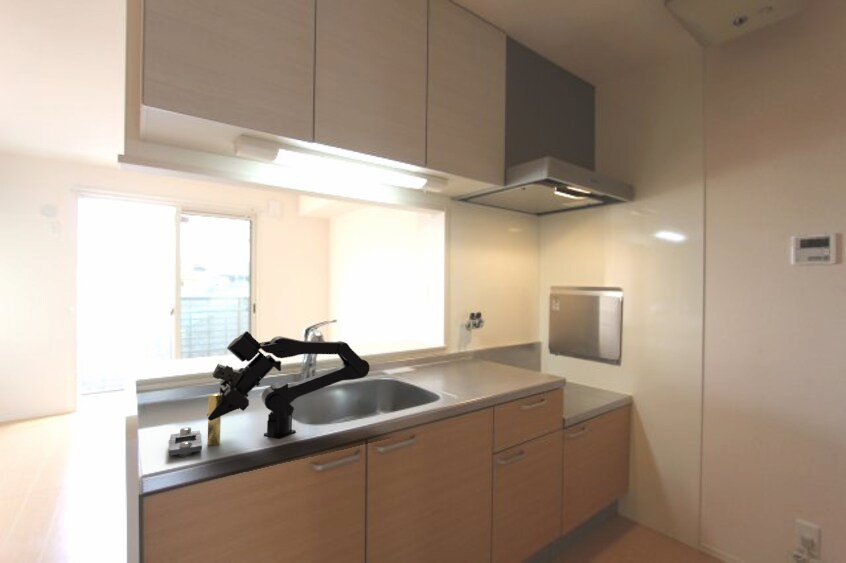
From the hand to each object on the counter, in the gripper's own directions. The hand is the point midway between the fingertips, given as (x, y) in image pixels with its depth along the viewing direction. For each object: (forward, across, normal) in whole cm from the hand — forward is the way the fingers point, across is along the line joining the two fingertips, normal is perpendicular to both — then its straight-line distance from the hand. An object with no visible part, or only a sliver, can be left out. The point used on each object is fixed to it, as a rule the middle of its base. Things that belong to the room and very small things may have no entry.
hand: (208, 417), depth 107 cm
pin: (+4, 0, +6) cm, 7 cm away
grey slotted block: (+9, -1, +1) cm, 9 cm away
